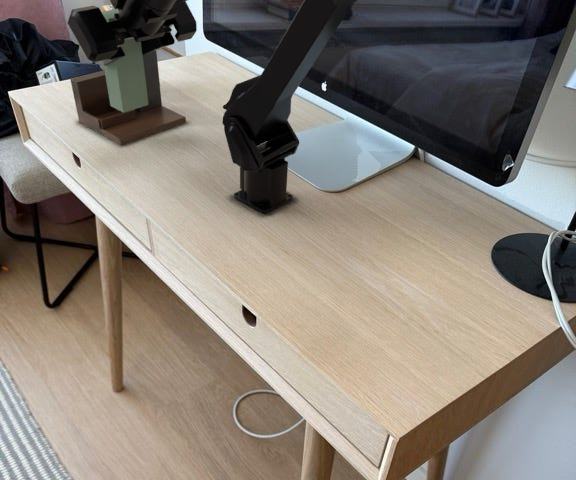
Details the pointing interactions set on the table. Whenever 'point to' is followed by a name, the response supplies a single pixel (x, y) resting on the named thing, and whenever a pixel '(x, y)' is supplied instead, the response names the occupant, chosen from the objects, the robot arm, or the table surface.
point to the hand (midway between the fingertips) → (118, 58)
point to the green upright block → (126, 75)
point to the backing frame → (115, 123)
